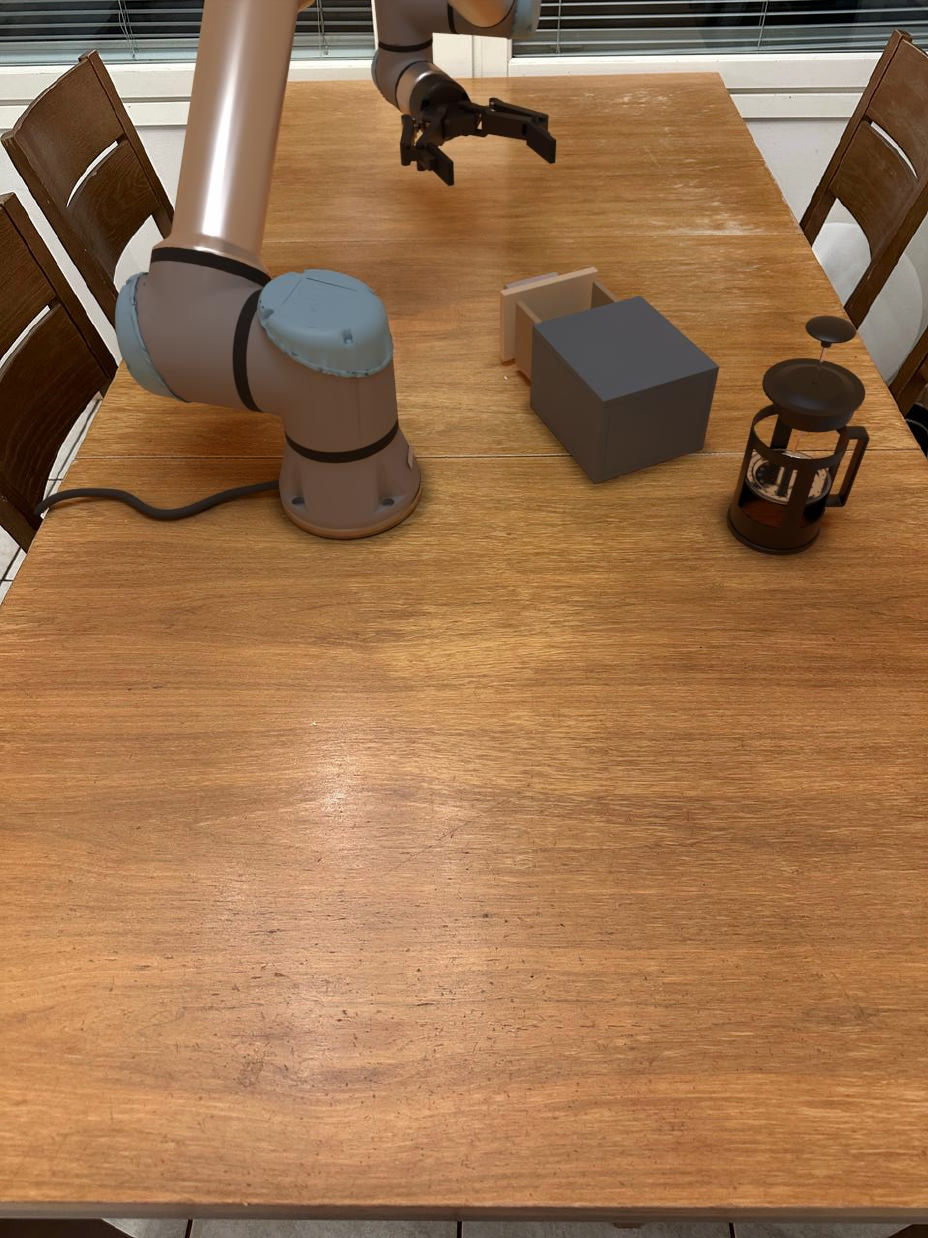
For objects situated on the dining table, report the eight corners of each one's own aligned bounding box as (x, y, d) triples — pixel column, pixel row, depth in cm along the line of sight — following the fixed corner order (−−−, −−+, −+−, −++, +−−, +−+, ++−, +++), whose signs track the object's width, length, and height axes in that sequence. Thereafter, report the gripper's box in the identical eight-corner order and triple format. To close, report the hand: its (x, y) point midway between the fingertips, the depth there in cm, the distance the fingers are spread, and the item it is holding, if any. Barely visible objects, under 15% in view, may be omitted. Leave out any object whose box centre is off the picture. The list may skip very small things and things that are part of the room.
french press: (727, 555, 95) (779, 356, 78) (713, 493, 101) (758, 296, 84) (846, 555, 95) (924, 355, 77) (824, 493, 101) (892, 295, 84)
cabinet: (529, 405, 112) (532, 324, 104) (630, 375, 116) (640, 294, 108) (595, 484, 103) (603, 401, 95) (702, 449, 106) (719, 366, 98)
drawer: (483, 337, 121) (482, 271, 114) (570, 313, 124) (574, 248, 117) (554, 420, 109) (557, 353, 102) (648, 392, 112) (658, 325, 105)
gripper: (517, 115, 133) (591, 173, 119) (349, 149, 126) (408, 215, 113) (518, 56, 127) (596, 110, 114) (343, 88, 121) (404, 150, 108)
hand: (503, 162), depth 113 cm, fingers open, 13 cm apart
